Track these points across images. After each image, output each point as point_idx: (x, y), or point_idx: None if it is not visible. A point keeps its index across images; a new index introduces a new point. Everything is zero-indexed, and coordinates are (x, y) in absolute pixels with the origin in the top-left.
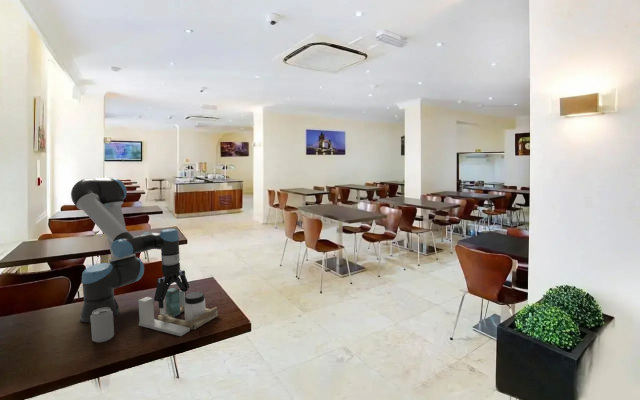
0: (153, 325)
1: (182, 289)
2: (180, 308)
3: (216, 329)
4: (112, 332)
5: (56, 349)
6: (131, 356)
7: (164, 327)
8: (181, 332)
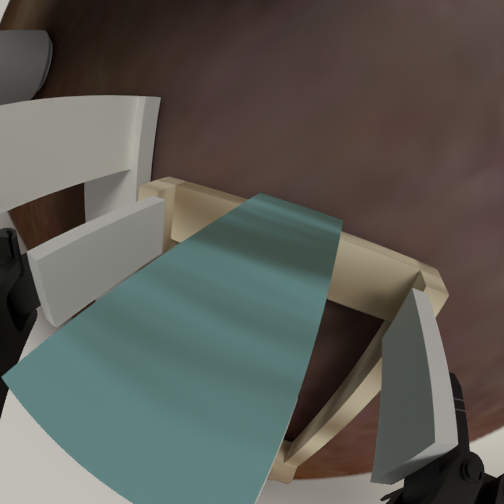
0: (90, 218)
1: (422, 495)
2: (389, 277)
3: None
4: (18, 98)
5: (19, 20)
6: (28, 248)
7: None
8: None
